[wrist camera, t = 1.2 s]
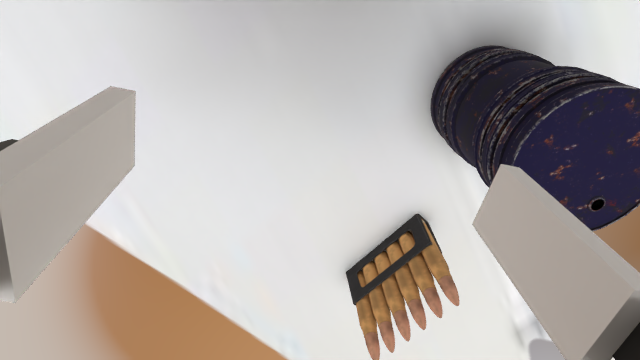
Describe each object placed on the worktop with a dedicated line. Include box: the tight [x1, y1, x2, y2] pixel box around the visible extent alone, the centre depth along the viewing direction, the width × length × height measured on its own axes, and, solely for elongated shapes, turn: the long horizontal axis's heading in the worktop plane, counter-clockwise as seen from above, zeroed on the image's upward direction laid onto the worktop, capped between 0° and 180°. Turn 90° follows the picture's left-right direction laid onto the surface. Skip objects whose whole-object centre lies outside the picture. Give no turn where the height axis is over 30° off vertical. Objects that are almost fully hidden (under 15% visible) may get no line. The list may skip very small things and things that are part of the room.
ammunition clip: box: [346, 214, 459, 360], centre depth 38 cm, size 11×2×12 cm, turn 136°
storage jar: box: [431, 46, 640, 232], centre depth 30 cm, size 10×10×15 cm
